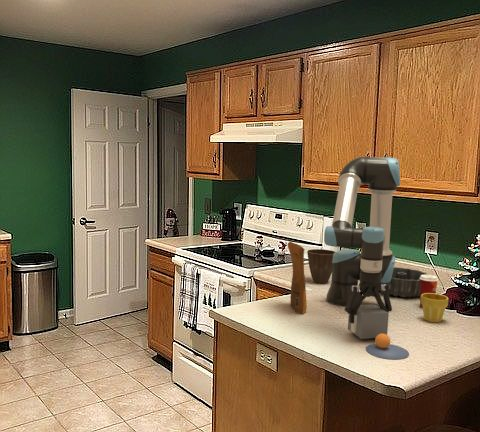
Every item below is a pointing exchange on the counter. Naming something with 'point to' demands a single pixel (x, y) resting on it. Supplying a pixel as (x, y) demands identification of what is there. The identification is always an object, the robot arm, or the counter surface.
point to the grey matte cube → (370, 321)
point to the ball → (382, 341)
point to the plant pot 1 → (320, 264)
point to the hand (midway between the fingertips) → (367, 330)
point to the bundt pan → (405, 282)
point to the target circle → (388, 352)
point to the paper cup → (427, 285)
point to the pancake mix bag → (298, 278)
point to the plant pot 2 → (433, 306)
